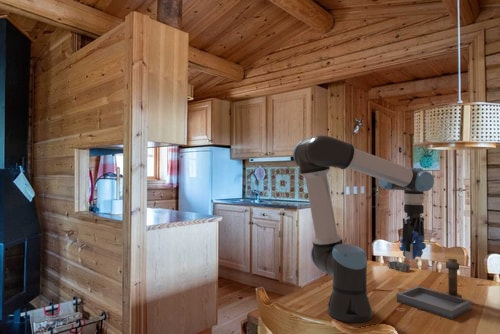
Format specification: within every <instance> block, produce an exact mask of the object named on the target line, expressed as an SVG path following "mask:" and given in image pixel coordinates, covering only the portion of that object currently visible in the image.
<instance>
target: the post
mask: <svg viewBox="0 0 500 334" xmlns="http://www.w3.org/2000/svg"><path fill="white" fill-rule="evenodd" d="M447 260H448V261H446V262H445V268H446V269H448V270H447V272H448V291H445V292H444V293H445V294H449V295H452V296H456V297H459V298H463V296H462V294H460V293H458V271H459V270H460V263H459V262H458V260H457V259H455V258H448V259H447Z"/></svg>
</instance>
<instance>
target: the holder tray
mask: <svg viewBox="0 0 500 334" xmlns="http://www.w3.org/2000/svg"><path fill="white" fill-rule="evenodd" d="M396 302H397V303H401V304H404V305H405V306H409V307H412V308H415V309H419V310H421V311H424V312H427V313H430V314H433V315H437V316H440V317H442V318H445V319H449V320H451V321H452V320H454V319H456V318H458V317H460V316H462V315H464V314H466V313H467V312H469V311H472V309H473V305H472V304H473V303H472V300H469V299H466V298H463V297H462V298H459V297H456V296H452V295H449V294H445V292H442V291H438V290H433V289H429V288H428V287H427V288H426V287H423V286H420V285H416V286H414V287H412V288H409V289H406V290H403V291H400V292H398V293H396Z"/></svg>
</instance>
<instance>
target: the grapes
mask: <svg viewBox="0 0 500 334" xmlns="http://www.w3.org/2000/svg"><path fill="white" fill-rule="evenodd" d="M423 241H424V242H423ZM399 242H400V245H399V246H398V248H399V250H400V251H401V252H402V255H403V257H404V258H405V243H403V242H402V237H400V239H399ZM411 244H413V255H412V260H415V259H416V258H417V257H416V256H421V257H422V256H423V254H424V252H423V250H425V249H426V247H427V245H426V243H425V236H424V237H423V236H421V235H419V236H418V232H416V231H413V237H412V242H411Z"/></svg>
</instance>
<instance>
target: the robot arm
mask: <svg viewBox="0 0 500 334" xmlns="http://www.w3.org/2000/svg"><path fill="white" fill-rule="evenodd" d="M292 152H293V153H292V156H293V160H294V161H293V162H294V163H295V164H296V165H297V166H298V168H299V173H300V175H301V176H302V177H303V178H304V179H305V185H306V191H307V195H308V201H309V202H308V203H309V208H310V212H311V218H312V225H313V230H314V235H315V237H314V238H313V239H312V248H311V251H310V257H311V261H312V263H313V264H314V265H315V267H316V268H317V269H319V271H320V270H321V271H322V272H324V273H326V274H327V275H329V276H331V277H332V291H331V294H330V297H329V300H328V303H327V314H328V315H329V316H330V317H332V318H334V319H336V320H338V321H342V322H345V323H352V324H353V323H354V324H355V323H356V324H358V323H366V322H369V321H370V320H372V318H373V309H372V306H371V303H370V299H369V296H368V292H367V285H368V283H367V280H368V279H367V276H368V275H367V267H368V260H367V253H366V252H365V250H364V249H363V248H361V247H359V246H357V245H352V244H348V243H344V242H343V237H342V236H341V235H340V234H339V233H338V231H337V224H336V219H335V214H334V208H333V201H332V197H331V191H330V186H329V178H328V173H329V172H330V170H331V168H338V169H341V170H346V169H349V170H353V171H355V172H358V173H361V174H364V175H367V176H369V177H370V176H371V177H373V178H376V179H378V185H379V187H380V189H383V190H387V191H391V190H392V191H394V190H395V191H398V190H399V191H404V192H403V195H404V196H403V203H404V204H403V212H404V213H406V217H403V218H402V233H401V234H402V236H401V238H402V242H403V243H405V257H404V259H407V260H411V261H412V260H413V259H412V255H413V244H411V242H412V237H413V231H416V232H418V236H419V235H421V236H423V237H424V238H425V225H424V224H425V217H424V216H421V215H422V214H424V211H425V209H424V207H425V206H424V205H423V204H424V199H425V197H424V196H425V195H424V192H428V191H430V190H432V188H433V187H434V184H435V178H434V176H433V174H432V173H431V172H429V171H425V170H424V169H423V168H421V167H407V166H404V165H402V164H398V163H395V162H393V161H390V160H387V159H385V158H382V157H379V156H377V155H374V154H371V153H369V152H366V151H362V150H361V149H357V148H355V146H354V144H351V143H349V142H347V141H345V140H344V141H343V140H341V139H339V138H335V137H333V136H329V135H322V134H321V135H317V136H313V137H307V138H304V139H303V140H300V141H299V142H297V144H296V145H295V147H294V149H293V151H292ZM423 243H425V240H424V241H423ZM416 258H420V259H421V258H422V255H421V256H416Z"/></svg>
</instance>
